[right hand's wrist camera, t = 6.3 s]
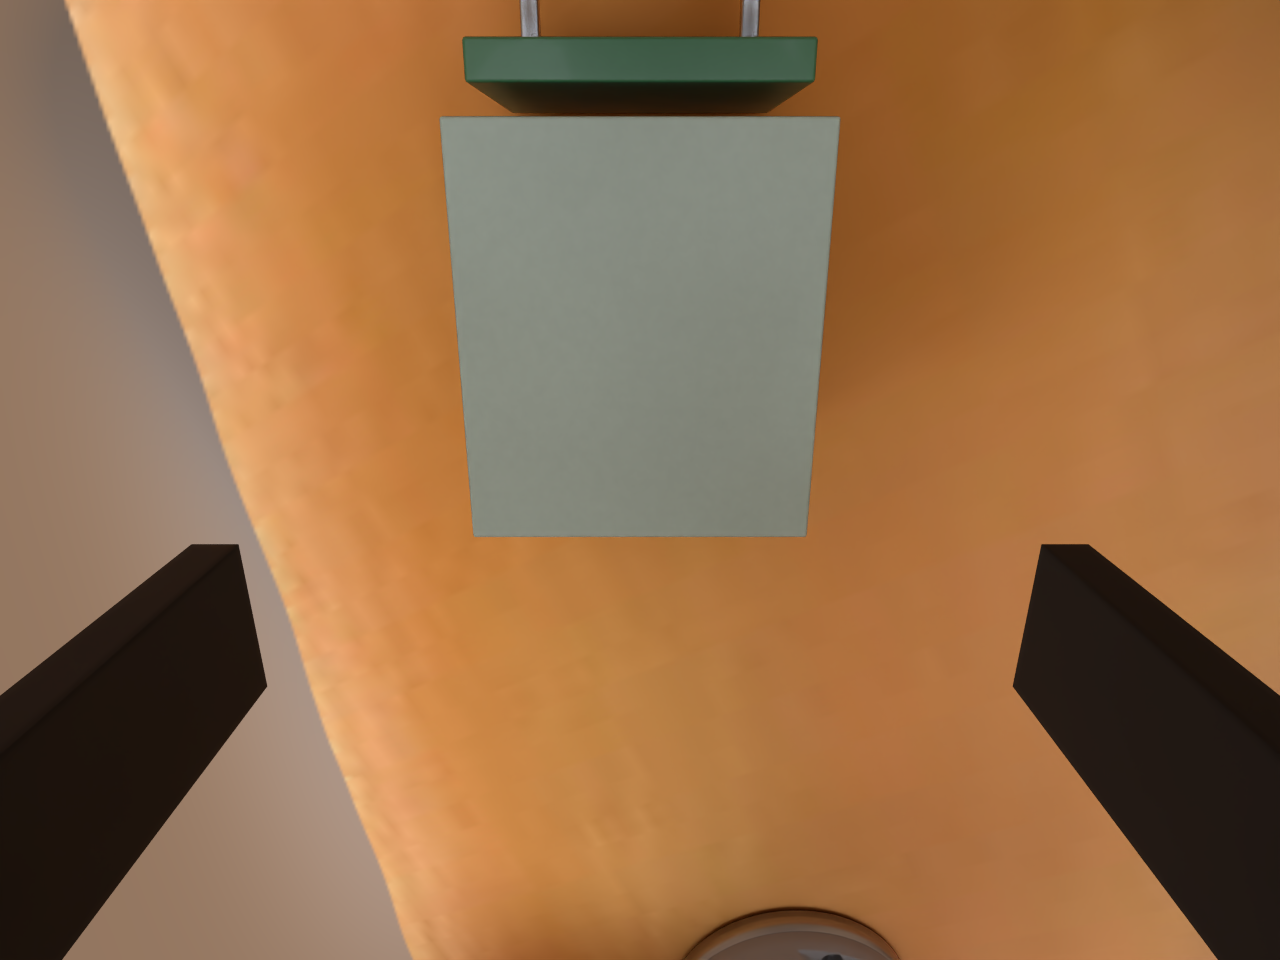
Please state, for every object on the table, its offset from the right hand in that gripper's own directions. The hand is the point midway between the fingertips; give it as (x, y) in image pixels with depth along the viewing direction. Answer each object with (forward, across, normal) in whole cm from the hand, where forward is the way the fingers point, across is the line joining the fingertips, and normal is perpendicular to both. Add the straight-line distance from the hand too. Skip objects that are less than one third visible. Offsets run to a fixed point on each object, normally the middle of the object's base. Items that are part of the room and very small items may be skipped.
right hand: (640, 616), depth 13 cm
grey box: (+24, 0, -2) cm, 24 cm away
